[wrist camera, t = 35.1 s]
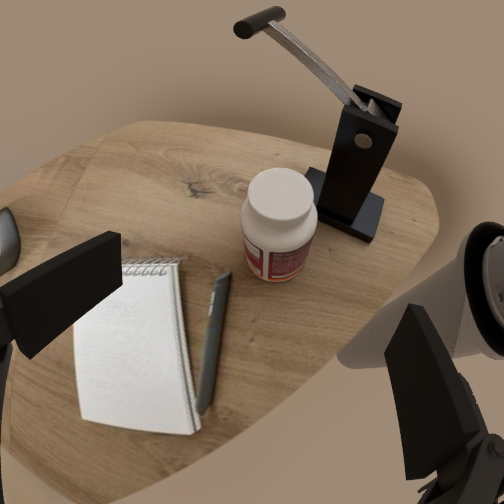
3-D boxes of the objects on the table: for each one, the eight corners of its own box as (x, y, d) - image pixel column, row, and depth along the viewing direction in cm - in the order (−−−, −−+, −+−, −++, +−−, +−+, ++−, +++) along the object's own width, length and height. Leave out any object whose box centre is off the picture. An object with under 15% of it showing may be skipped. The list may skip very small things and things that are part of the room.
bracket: (289, 208, 31) (304, 100, 18) (308, 173, 33) (326, 71, 20) (369, 243, 29) (430, 153, 15) (381, 205, 31) (430, 114, 18)
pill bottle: (311, 238, 29) (332, 172, 19) (296, 291, 27) (316, 242, 17) (256, 223, 30) (253, 152, 20) (237, 273, 28) (223, 216, 18)
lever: (226, 34, 15) (242, 13, 13) (263, 16, 17) (278, -1, 15) (362, 159, 20) (385, 149, 18) (374, 121, 22) (393, 112, 20)
